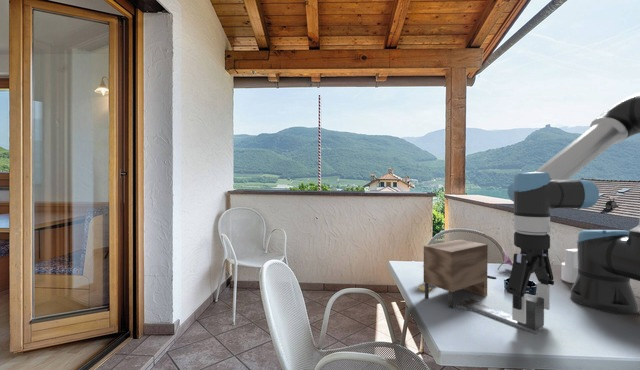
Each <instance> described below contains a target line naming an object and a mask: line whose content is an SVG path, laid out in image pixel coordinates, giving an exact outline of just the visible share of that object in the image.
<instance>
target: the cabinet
mask: <svg viewBox="0 0 640 370" xmlns="http://www.w3.org/2000/svg"><path fill="white" fill-rule="evenodd" d="M488 245H489V244H488V243H487V244H486V243H481V242H476V241H470V240H465V239H455V240H449V241H443V242H438V243H432V244H431V243H430V244H426V245H423V283H424V285H425V292H424V299H429V298H430V297H429V296H430V295H429V293H430V292H429V285H430V286H433V287H435V288H439V289H441V290H444V291H446V292H448V308H449V309H454V292H456V291H457V292H458V291H460V290H464V291H467V292H470V293H472V294H473V293H474V294H476V295H479V296H483V297H486V296H488V278H487V275H488V260H489V259H488V254H489V253H488V251H489V250H488V248H489V247H488Z"/></svg>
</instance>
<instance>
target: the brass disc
mask: <svg viewBox="0 0 640 370" xmlns="http://www.w3.org/2000/svg"><path fill="white" fill-rule="evenodd" d="M420 290H421V291H420ZM418 291H420V292H423V291H424V293H425V284H421V285H418ZM429 291H430V292H431V291H432V287H431V285H430V286H429Z"/></svg>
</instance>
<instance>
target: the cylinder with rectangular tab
mask: <svg viewBox="0 0 640 370" xmlns="http://www.w3.org/2000/svg"><path fill="white" fill-rule="evenodd" d="M577 275H578V248H568V249H564V262H561V280H562V281H564V282H566V283H569V284H573V283H574V282H575V280H576V278H577Z"/></svg>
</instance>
